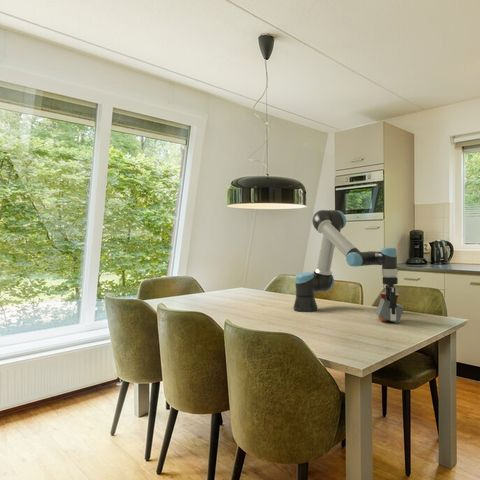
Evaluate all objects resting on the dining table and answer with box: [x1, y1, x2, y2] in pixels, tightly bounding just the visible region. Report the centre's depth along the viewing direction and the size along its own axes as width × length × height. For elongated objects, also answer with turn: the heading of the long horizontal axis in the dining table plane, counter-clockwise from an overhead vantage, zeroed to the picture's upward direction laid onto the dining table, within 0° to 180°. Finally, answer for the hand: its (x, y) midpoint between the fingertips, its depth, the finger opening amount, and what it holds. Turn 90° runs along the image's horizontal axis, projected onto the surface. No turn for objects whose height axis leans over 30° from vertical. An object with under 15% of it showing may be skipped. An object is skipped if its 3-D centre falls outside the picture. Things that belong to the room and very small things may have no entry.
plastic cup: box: [379, 291, 400, 304], centre depth 223 cm, size 11×11×12 cm
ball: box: [377, 315, 388, 322], centre depth 200 cm, size 5×5×5 cm
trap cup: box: [375, 297, 405, 324], centre depth 199 cm, size 10×10×9 cm
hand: (391, 318), depth 199 cm, fingers closed on trap cup, 10 cm apart
